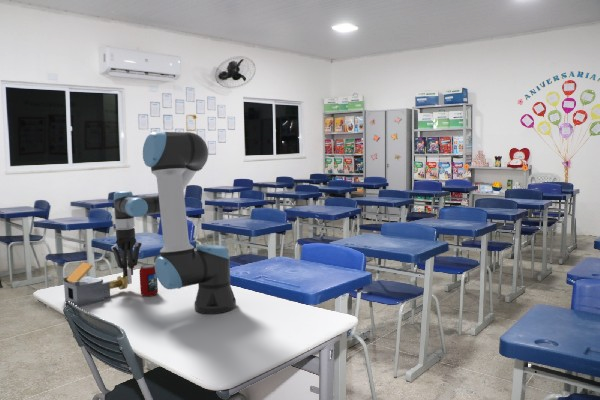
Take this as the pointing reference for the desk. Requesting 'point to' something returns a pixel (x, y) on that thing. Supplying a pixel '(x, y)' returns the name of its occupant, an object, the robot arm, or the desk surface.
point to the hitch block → (86, 290)
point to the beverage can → (148, 280)
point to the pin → (119, 283)
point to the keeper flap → (79, 272)
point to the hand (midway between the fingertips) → (128, 283)
